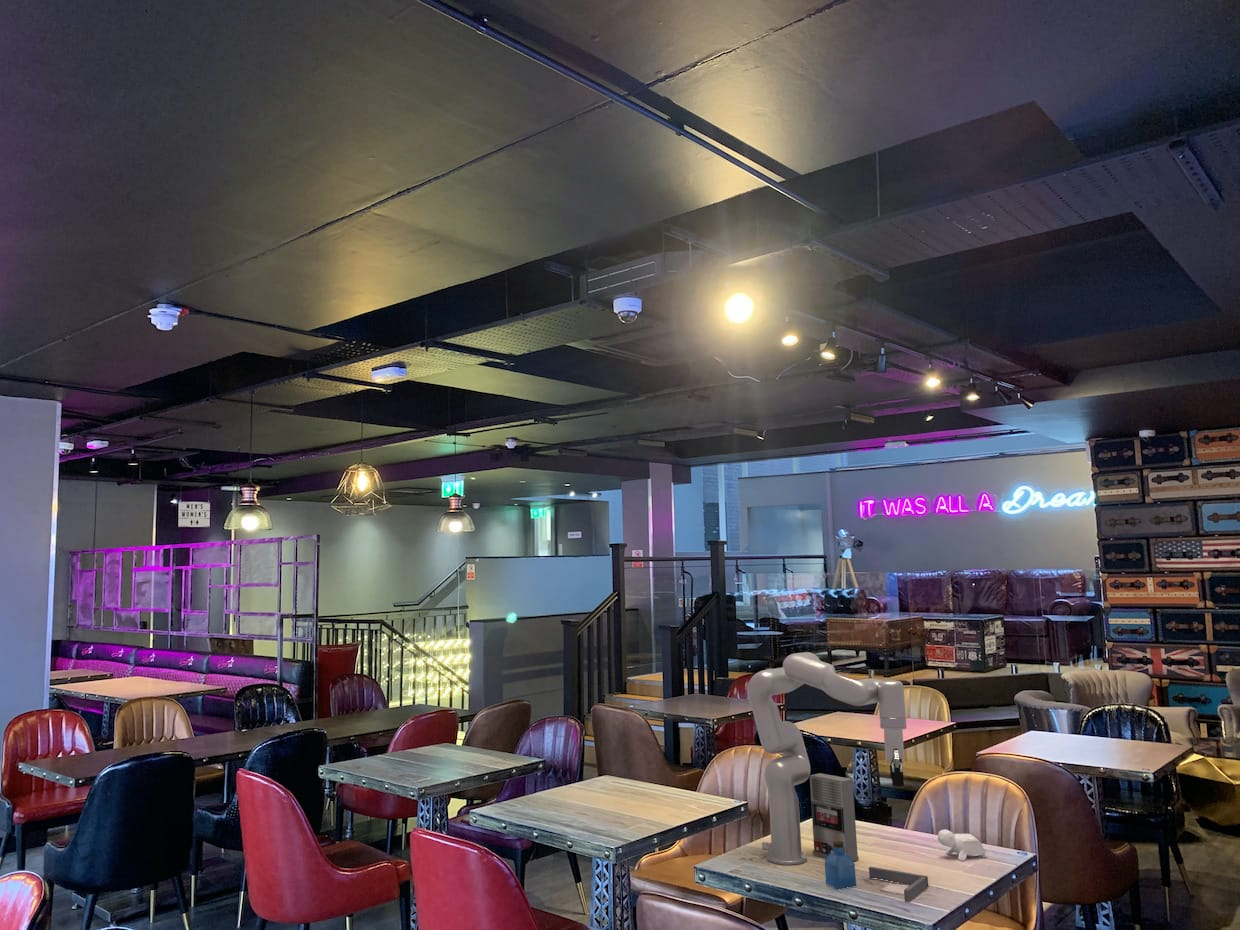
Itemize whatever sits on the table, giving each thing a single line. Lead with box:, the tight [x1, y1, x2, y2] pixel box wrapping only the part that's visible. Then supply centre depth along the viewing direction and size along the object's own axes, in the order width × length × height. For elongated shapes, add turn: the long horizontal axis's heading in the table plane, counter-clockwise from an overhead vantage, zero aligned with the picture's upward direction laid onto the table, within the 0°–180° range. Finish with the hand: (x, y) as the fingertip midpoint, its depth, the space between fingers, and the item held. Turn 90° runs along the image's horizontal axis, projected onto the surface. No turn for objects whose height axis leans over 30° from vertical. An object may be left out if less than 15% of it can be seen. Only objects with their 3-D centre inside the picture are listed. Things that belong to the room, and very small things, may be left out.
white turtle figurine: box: [937, 828, 987, 862], centre depth 280 cm, size 9×8×15 cm
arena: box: [868, 866, 929, 903], centre depth 252 cm, size 17×15×3 cm
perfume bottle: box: [824, 841, 857, 890], centre depth 257 cm, size 6×6×12 cm
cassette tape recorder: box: [809, 772, 860, 862], centre depth 285 cm, size 14×6×25 cm, turn 37°
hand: (897, 782), depth 260 cm, fingers open, 9 cm apart
